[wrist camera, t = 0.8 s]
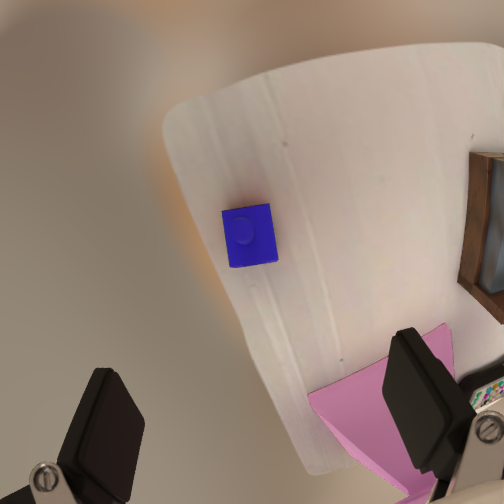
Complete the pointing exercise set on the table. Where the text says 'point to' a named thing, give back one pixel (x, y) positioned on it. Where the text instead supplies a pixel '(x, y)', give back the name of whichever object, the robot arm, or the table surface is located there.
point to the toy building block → (249, 236)
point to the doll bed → (485, 233)
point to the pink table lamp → (378, 421)
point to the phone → (484, 386)
